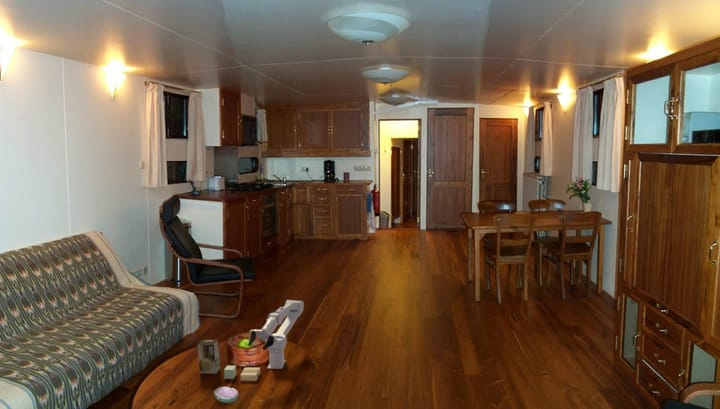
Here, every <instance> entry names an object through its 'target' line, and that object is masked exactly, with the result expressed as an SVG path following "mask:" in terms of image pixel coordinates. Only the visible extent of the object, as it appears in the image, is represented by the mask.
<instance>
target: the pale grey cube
mask: <svg viewBox="0 0 720 409" xmlns="http://www.w3.org/2000/svg"><path fill="white" fill-rule="evenodd" d="M223 371H224V380H227V379H228V380H234V379H235V377H236V376H237V365H226V367H225V368H224V370H223Z"/></svg>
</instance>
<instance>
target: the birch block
mask: <svg viewBox="0 0 720 409" xmlns="http://www.w3.org/2000/svg"><path fill="white" fill-rule="evenodd" d="M260 375H261V367H244V368H243V370H242V371H241V373H240V381H241V382H257V380H258V379H259V378H260V377H259V376H260Z"/></svg>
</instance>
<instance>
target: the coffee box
mask: <svg viewBox="0 0 720 409" xmlns="http://www.w3.org/2000/svg"><path fill="white" fill-rule="evenodd" d="M197 351H198V363H199V364H198V367H199V373H200V374H214V375H215V374H217V373H218V372H219V371H220V369H221V365H220V364H221V362H220V359H221V358H220V347H219V339H201V340H200V341H199V343H197Z"/></svg>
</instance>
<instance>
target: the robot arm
mask: <svg viewBox="0 0 720 409" xmlns="http://www.w3.org/2000/svg"><path fill="white" fill-rule="evenodd" d="M304 307H305V303H304V301H303V300H293V299H286V301H285V303H284V306H280V307H279V308H278V309H277V310H275V311H274V312H271V313H269V314H268V316H267V319H266V322H265V324H264V325H263V326H262V327H261V329H250V330H249V336H250V338H249V341H248V347H251V346H252V344H253V343H254V341H256V339H257V338H259V339H260V340H261V341H265V342H264V344H263V346H262V351H265V350H267V351H268V353H269V354H268V357H269V358H268V359H269V364H268V366H267V369H268V370H269V369H272V370H273V369H274V370H275V369H277V370H279V369H280V370H281V369H283V368H284V366H285V363H286V362H287V361H286V359H285V358H284V357H285V351H284V350H285V349H286V346H287V343H288V340H287V335H288V334H289V332H290V330H291V329H292V328H293V326H294V325H295V323H296V321H297V319H298V318H299V317H300V316H301V314H303V312H304ZM284 319H285V320H284ZM282 322H283V323H282ZM278 325H279V328H278V329H277V332H275V333H274V331H275V330H276V328H277V326H278ZM280 325H281V326H280Z"/></svg>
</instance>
